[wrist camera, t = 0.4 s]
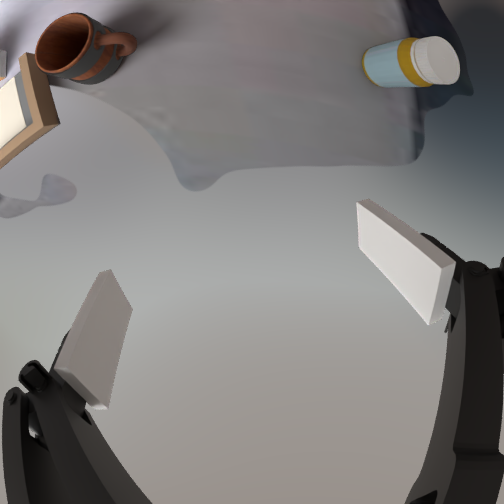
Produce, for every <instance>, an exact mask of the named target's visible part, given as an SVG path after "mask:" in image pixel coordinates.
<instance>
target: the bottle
mask: <svg viewBox="0 0 504 504" xmlns="http://www.w3.org/2000/svg"><path fill="white" fill-rule="evenodd" d="M362 66H363V70H364V72H365V74H366V76H367V77H368V79H369V80H370V81H371V82H372V83H374V84H375V85H377V86H379V87H386V88H389V87H427V86H431V85H433V84H453V83H455V82H456V81H457V79H458V77H459V74H460V64H459V60H458V57H457V54H456V52H455V51H454V49H453V47H452V46H451V45H450V44H449V43H448V42H447V41H446V40H445V39H443V38H441V37H437V36H433V37H427V38H422V39H418V38H405V39H401V40H397V41H393V42H389V43H385V44H382V45H378V46H375V47H372V48H370V49H368V50H366V52H365V53H364V55H363V58H362Z"/></svg>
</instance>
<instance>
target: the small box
mask: <svg viewBox="0 0 504 504" xmlns="http://www.w3.org/2000/svg"><path fill="white" fill-rule="evenodd" d="M6 58H7V51H4V50H0V81H1V80H3V79H4V78H6Z"/></svg>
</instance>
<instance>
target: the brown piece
mask: <svg viewBox="0 0 504 504" xmlns="http://www.w3.org/2000/svg"><path fill="white" fill-rule="evenodd" d="M19 63H20V69H21V71H20V72H19V73H18V74H17V75H16V76H15V77H13V78H12V79H11V80H10V81H8V82H7V83H6V84H5V85H4V86H3V87H2V88H1V89H0V169H1V168H2V167H3V166H4V165H6V164H7V163H8V162H9V161H10V160H12V159H13V158H14V157H15V156H16V155H18V154H19V153H20V152H21V151H23V150H24V149H25V148H27V147H28V146H29V145H30V144H32V143H33V142H34V141H36V140H37V139H39V138H40V137H42V136H43V135H44V134H46V133H47V132H49V131H50V130H52V129H53V128H55V127H56V126H58V125H59V124H60V121H59V118H58V115H57V111H56V108H55V104H54V101H53V97H52V93H51V90H50V86H49V82H48V78H47V74H45V73H43V72H42V71H40V70H39V68H38V67H37V64H36V61H35V54H32V53H27V52H26V53H24V54H23V55H22V56H21V57H20V58H19Z"/></svg>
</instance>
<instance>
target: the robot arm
mask: <svg viewBox="0 0 504 504" xmlns="http://www.w3.org/2000/svg"><path fill="white" fill-rule="evenodd" d="M356 203H357V217H358V235H359V236H358V237H359V248H360V249H361V251H362V252H363V253H364V254H365V255H366V256H367V257H368V258H369V259H370V260H371V261H372V262H373V263H374V264H375V265H376V266H377V267H378V269H380V271H381V272H382V273H383V274H384V275H385V276H386V277H387V278H388V279H389V280H390V281H391V283H392V284H393V285H394V286H395V287H396V288H397V289H398V291H399V292H400V293H401V294H402V295H403V296H404V297H405V298H406V300H407V301H408V302H409V303H410V304H411V306H412V307H413V308H414V309H415V310H416V311H417V313H418V314H419V315H420V316H421V317H422V318H423V320H424V321H425V322H426V323H427V325H428V326H429V325H431V324H433V323H435V322H437V321H439V320H441V319H442V317H443V314H444V310H445V307H446V309H447V310H448V311H449V312H450V317H449V319H448V323H447V326H446V329H445V333H446V332H447V330H448V339H447V353H446V361H445V370H444V378H443V384H442V390H441V396H440V401H439V407H438V411H437V416H436V420H435V425H434V430H433V433H432V437H431V440H430V444H429V448H428V451H427V454H426V458H425V461H424V464H423V467H422V470H421V473H420V475H419V477H418V478H417V480H416V482H415V483H414V485H413V487H412V489H411V491H410V493H409V495H408V497H407V499H406V502H405V504H496V501H497V498H498V494H499V490H500V487H501V482H502V478H503V474H504V455H503V454H501V453H500V452H499V449H498V448H499V439H500V431H501V421H502V410H503V384H504V382H503V381H504V375H503V372H504V257H503V258H502V260H501V264H500V267H499V268H492V269H489V268H488V267H487V266H486V265H485V264H483V263H481V262H478V261H468V262H465V261H464V260H462V259H461V258H460V257H459V256H458V255H456V254H455V253H454V252H453V251H451V250H450V249H449V248H446V246H445V245H443V244H442V243H440V242H439V241H438V240H437V239H435V238H434V237H432V236H430V235H427V234H425V233H421V234H419V233H418V232H417V231H415V230H414V229H412V228H411V227H410V226H408V225H407V224H406V223H404V222H403V221H401V220H400V219H398V218H397V217H396V216H394V215H393V214H391V213H390V212H388V211H387V210H385V209H384V208H382V207H381V206H379V205H378V204H376V203H375V202H373V201H371V200H370V199H366V200H362V201H358V202H356ZM132 310H133V309H132V307H131V305H130V304H129V302H128V300H127V298H126V297H125V295H124V293H123V291H122V290H121V288H120V286H119V284H118V282H117V280H116V278H115V276H114V275H113V273H112V271H111V270H107V271H104V272H100V273H99V274H98V276H97V278H96V280H95V282H94V283H93V285H92V287H91V289H90V291H89V293H88V295H87V297H86V299H85V301H84V302H83V305H82V307H81V309H80V310H79V313H78V315H77V317H76V319H75V321H74V323H73V325H72V327H71V329H70V330H69V331H68V333H67V334H66V335H65V336H64V338H63V341H62V343H61V346H60V347H59V350H58V353H57V354H56V357H55V359H54V362H53V364H52V367H51V369H50V371H49V373H48V372H47V371H46V369H45V368H44V367H43V366H42V365H41V364H40V363H39V361H37V360H32V361H30V362H28V363H27V364H26V365H25V366H24V367H23V368H22V370H21V371H20V374H19V381H20V382H21V383H22V385H23V386H24V387H25V388H26V389H27V390H28V391H29V392H28V393H24V392H23V391H22V390H21V389H20V388H19V387H14V388H12V389H10V390H9V391H8V392H7V393H6V396H5V398H4V403H3V420H2V450H3V467H4V479H5V486H6V493H7V500H8V504H152V503H151V502H150V500H149V499H148V498H147V497H146V496H145V494H144V493H143V492H142V491H141V490H140V488H139V487H138V486H137V485H136V483H135V482H134V481H133V480H132V478H131V477H130V476H129V474H128V473H127V471H126V470H125V469H124V467H123V466H122V464H121V463H120V462H119V460H118V459H117V457H116V456H115V454H114V453H113V451H112V450H111V448H110V447H109V445H108V444H107V442H106V440H105V439H104V437H103V436H102V434H101V432H100V431H99V429H98V427H97V425H96V424H95V422H94V420H93V419H92V417H91V415H90V413H89V412H88V411H87V410H86V409H85V405H86V402H87V403H88V404H89V405H90V406H91V407H93V408H94V409H108V408H109V402H110V398H111V393H112V388H113V383H114V379H115V374H116V369H117V366H118V362H119V357H120V353H121V349H122V345H123V341H124V338H125V334H126V331H127V327H128V323H129V320H130V316H131V313H132ZM29 429H30V430H31V431H33V432H34V433H35V438H34V437H32V436H31V435H30V433H29Z"/></svg>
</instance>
